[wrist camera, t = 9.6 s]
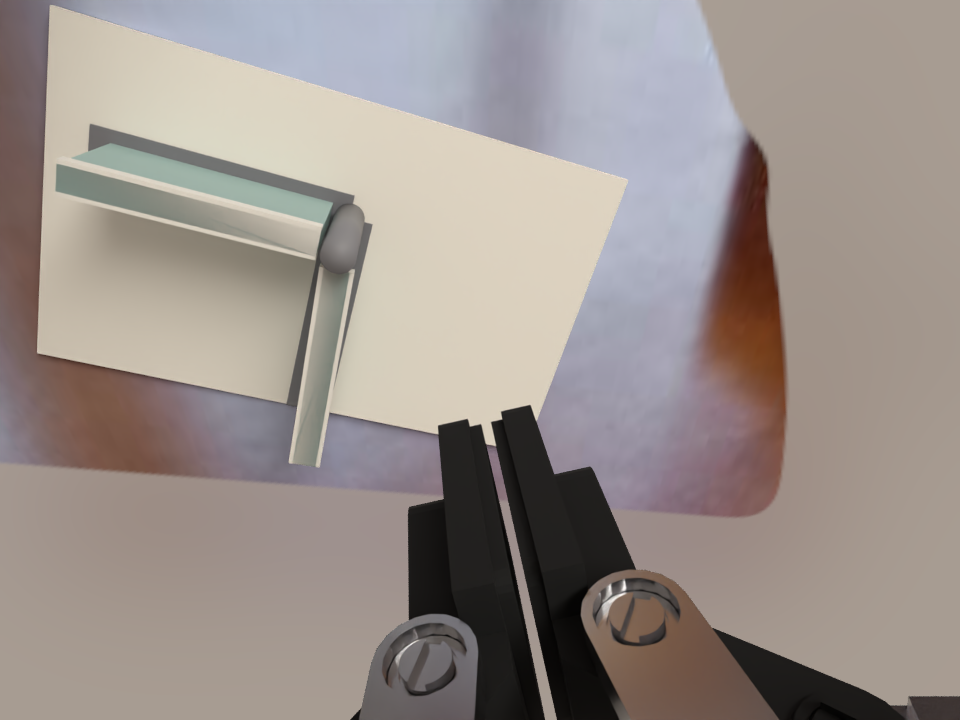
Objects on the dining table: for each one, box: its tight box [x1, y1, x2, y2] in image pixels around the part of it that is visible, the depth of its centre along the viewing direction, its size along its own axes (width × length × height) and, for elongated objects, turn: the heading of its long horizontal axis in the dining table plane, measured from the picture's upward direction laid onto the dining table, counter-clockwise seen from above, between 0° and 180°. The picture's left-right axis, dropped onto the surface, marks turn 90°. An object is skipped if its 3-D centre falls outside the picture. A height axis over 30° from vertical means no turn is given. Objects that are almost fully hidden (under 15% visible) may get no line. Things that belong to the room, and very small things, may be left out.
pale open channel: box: [289, 263, 355, 467], centre depth 36 cm, size 2×11×6 cm, turn 166°
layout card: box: [37, 5, 628, 446], centre depth 38 cm, size 18×29×1 cm, turn 73°
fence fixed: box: [55, 143, 365, 274], centre depth 32 cm, size 2×13×7 cm, turn 73°
